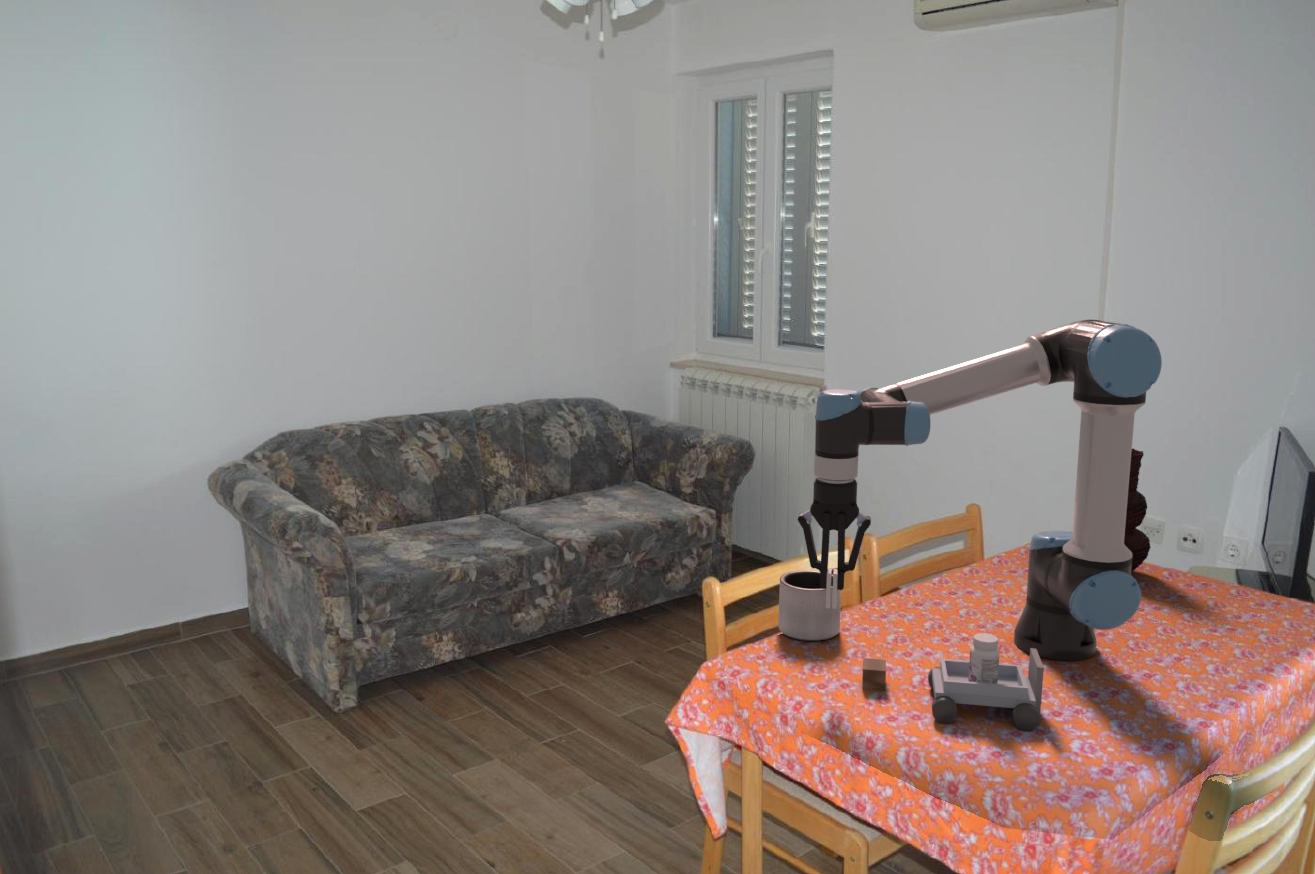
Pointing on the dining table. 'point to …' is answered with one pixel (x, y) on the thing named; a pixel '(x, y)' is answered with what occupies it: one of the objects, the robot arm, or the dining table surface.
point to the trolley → (989, 690)
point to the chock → (874, 674)
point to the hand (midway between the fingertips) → (831, 605)
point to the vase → (1136, 515)
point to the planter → (807, 607)
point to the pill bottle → (984, 659)
